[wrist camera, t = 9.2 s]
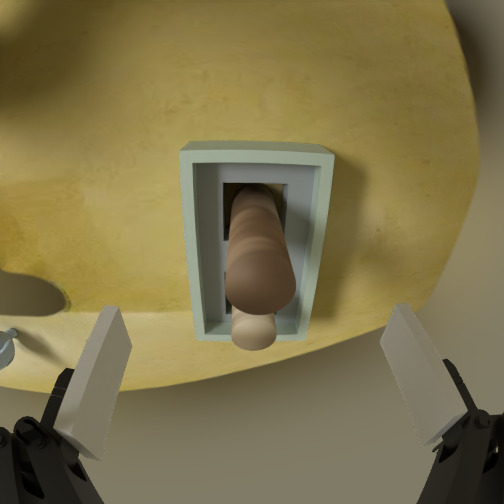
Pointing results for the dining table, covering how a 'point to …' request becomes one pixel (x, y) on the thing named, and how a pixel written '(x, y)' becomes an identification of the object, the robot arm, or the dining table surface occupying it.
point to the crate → (217, 235)
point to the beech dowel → (252, 330)
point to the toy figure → (7, 347)
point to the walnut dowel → (257, 254)
